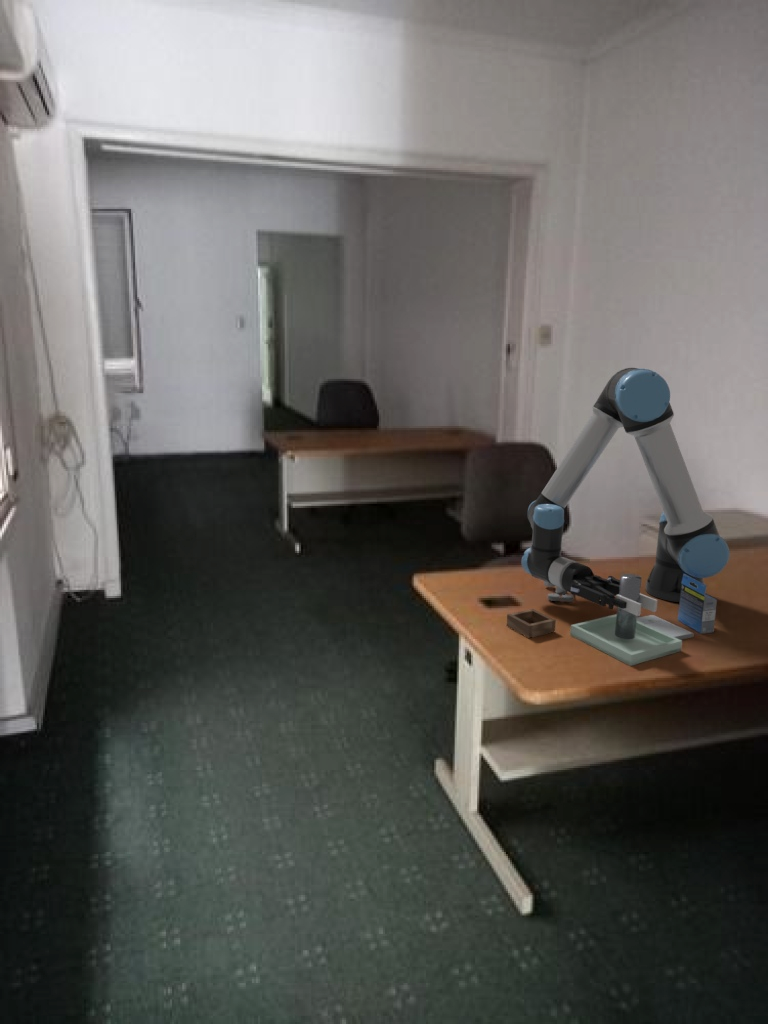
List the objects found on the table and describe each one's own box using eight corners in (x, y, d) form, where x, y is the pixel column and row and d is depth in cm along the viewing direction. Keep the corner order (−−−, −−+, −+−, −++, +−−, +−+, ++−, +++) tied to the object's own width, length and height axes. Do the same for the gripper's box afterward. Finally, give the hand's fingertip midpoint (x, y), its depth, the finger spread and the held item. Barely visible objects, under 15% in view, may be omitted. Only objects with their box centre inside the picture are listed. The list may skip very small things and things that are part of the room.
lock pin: (624, 629, 162) (630, 572, 159) (639, 636, 158) (645, 578, 155) (610, 633, 160) (616, 575, 157) (625, 640, 156) (631, 581, 153)
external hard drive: (667, 644, 160) (627, 624, 171) (693, 639, 164) (653, 619, 175) (667, 638, 160) (628, 618, 171) (693, 632, 163) (653, 613, 174)
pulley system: (518, 594, 192) (562, 607, 181) (519, 577, 192) (563, 590, 180) (581, 579, 209) (625, 590, 197) (582, 563, 208) (626, 574, 196)
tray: (618, 622, 171) (619, 613, 170) (681, 651, 156) (682, 640, 155) (570, 635, 163) (570, 625, 163) (630, 666, 148) (631, 655, 147)
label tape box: (714, 633, 166) (721, 584, 163) (699, 634, 165) (706, 585, 162) (690, 619, 174) (696, 572, 171) (675, 620, 173) (681, 573, 170)
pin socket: (532, 620, 172) (533, 608, 171) (554, 631, 165) (555, 620, 164) (506, 626, 168) (507, 614, 167) (528, 638, 161) (529, 626, 160)
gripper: (596, 585, 177) (672, 617, 157) (543, 596, 169) (617, 631, 149) (598, 557, 175) (676, 585, 156) (545, 566, 167) (621, 598, 147)
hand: (647, 608), depth 152 cm, fingers closed on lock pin, 4 cm apart
